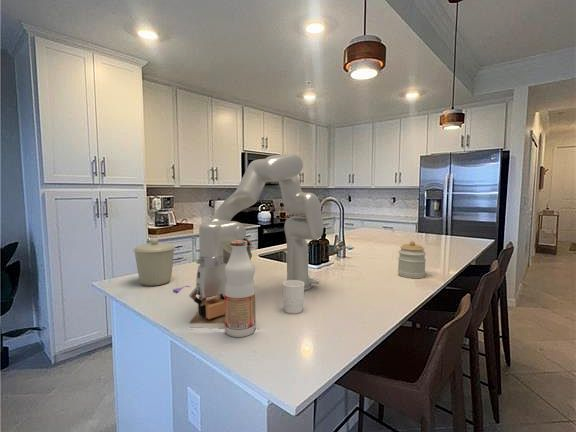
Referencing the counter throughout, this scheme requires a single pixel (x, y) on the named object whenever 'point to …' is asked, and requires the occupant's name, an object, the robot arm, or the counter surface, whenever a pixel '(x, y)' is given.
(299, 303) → the white cup
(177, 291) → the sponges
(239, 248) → the fruit juice
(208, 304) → the collar
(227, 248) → the pot
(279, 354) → the counter surface
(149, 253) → the canister
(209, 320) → the walnut board
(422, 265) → the jar
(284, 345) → the counter surface
